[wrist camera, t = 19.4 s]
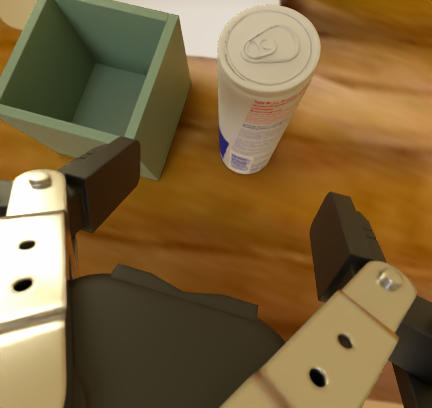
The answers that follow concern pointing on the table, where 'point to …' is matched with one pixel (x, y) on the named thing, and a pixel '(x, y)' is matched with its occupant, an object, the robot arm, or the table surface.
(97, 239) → the table surface
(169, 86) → the crate
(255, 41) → the beverage can
